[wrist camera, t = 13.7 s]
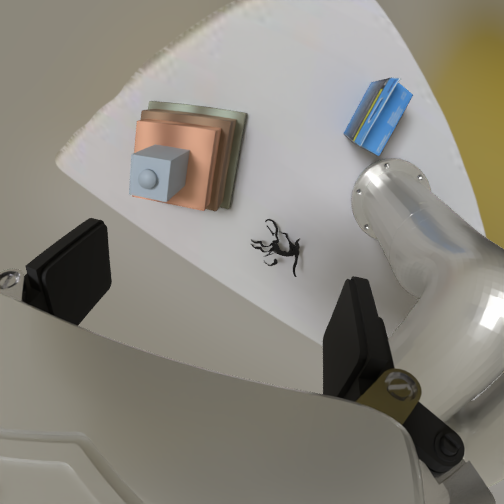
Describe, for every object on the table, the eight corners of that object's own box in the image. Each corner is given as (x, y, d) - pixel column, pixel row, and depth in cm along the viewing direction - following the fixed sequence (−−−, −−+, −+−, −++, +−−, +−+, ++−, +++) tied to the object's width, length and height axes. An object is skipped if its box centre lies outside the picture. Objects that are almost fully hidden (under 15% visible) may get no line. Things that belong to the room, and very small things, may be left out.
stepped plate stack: (246, 113, 39) (235, 116, 32) (230, 206, 46) (217, 228, 39) (152, 101, 39) (124, 104, 32) (144, 189, 46) (119, 207, 39)
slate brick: (189, 150, 34) (168, 162, 29) (184, 185, 36) (164, 204, 31) (155, 144, 34) (129, 155, 29) (151, 179, 37) (126, 196, 31)
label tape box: (365, 147, 39) (390, 167, 28) (340, 132, 39) (357, 146, 28) (394, 95, 35) (429, 97, 24) (369, 79, 34) (397, 74, 24)
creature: (254, 259, 51) (301, 268, 49) (242, 275, 47) (293, 286, 44) (255, 214, 47) (306, 222, 45) (242, 227, 43) (298, 237, 40)
